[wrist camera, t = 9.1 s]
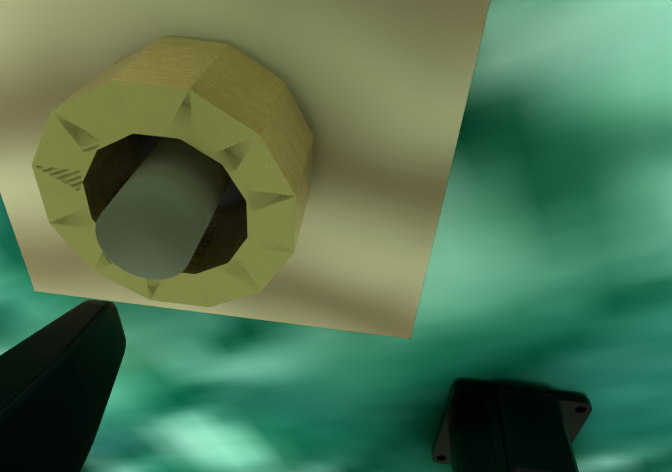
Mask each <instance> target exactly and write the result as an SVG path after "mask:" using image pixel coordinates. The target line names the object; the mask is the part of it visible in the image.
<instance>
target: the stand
mask: <svg viewBox="0 0 672 472" xmlns="http://www.w3.org/2000/svg"><path fill="white" fill-rule="evenodd" d="M489 4H490V0H0V193H1V196H2V199H3V202H4V205H5V207H6V210H7V213H8V216H9V219H10V222H11V224H12V227H13V230H14V233H15V236H16V239H17V241H18V244H19V247H20V250H21V253H22V256H23V258H24V261H25V264H26V267H27V270H28V272H29V275H30V278H31V281H32V284H33V287H34V289H35V291H39V292H47V293H55V294H62V295H70V296H78V297H86V298H94V299H102V300H110V301H117V302H125V303H133V304H141V305H149V306H157V307H165V308H172V309H180V310H188V311H196V312H204V313H212V314H220V315H228V316H235V317H243V318H251V319H259V320H267V321H275V322H283V323H290V324H298V325H306V326H314V327H322V328H330V329H338V330H345V331H353V332H361V333H369V334H377V335H385V336H393V337H400V338H408V339H411V334H412V330H413V326H414V322H415V318H416V313H417V309H418V305H419V301H420V296H421V292H422V288H423V284H424V279H425V275H426V271H427V267H428V263H429V258H430V254H431V250H432V246H433V241H434V237H435V233H436V229H437V224H438V220H439V216H440V212H441V207H442V203H443V199H444V195H445V191H446V186H447V182H448V178H449V174H450V169H451V165H452V161H453V157H454V152H455V148H456V144H457V140H458V136H459V131H460V127H461V123H462V119H463V114H464V110H465V106H466V102H467V97H468V93H469V89H470V85H471V80H472V76H473V72H474V68H475V64H476V59H477V55H478V51H479V47H480V42H481V38H482V34H483V30H484V25H485V21H486V17H487V13H488V9H489ZM163 36H164V37H173V38H182V39H191V40H201V41H210V42H219V43H229V44H230V45H231V46H233V47H234V48H236V49H237V50H239V51H240V52H242V53H243V54H245V55H246V56H248V57H249V58H251V59H252V60H253V61H255V62H256V63H258V64H259V65H261V66H262V67H264V68H265V69H267V70H268V71H270V72H271V73H272V74H274V75H275V76H277V77H278V78H280V79H281V80H283V81H284V82H285V83H286V85H287V87H288V89H289V91H290V93H291V94H292V96H293V98H294V100H295V102H296V104H297V106H298V108H299V109H300V111H301V113H302V115H303V117H304V119H305V121H306V122H307V124H308V126H309V128H310V130H311V132H312V134H313V136H314V141H313V160H312V178H311V189H310V193H309V197H308V201H307V205H306V209H305V212H304V216H303V220H302V224H301V228H300V232H299V235H298V239H297V243H296V247H295V251H294V253H293V254H292V256H291V257H290V258H289V259H288V260H287V262H286V263H285V264H284V265H283V266H282V267H281V269H280V270H279V271H278V272H277V273H276V275H275V276H274V277H273V278H272V279H271V281H270V282H269V283H268V284H267V285H266V286H265V288H264V289H263V290H262V291H261V292H258V293H255V294H252V295H248V296H245V297H242V298H239V299H235V300H232V301H229V302H226V303H222V304H219V305H216V306H213V307H202V306H194V305H186V304H178V303H170V302H162V301H154V300H149V299H147V298H145V297H143V296H141V295H139V294H137V293H135V292H133V291H131V290H130V289H128V288H126V287H124V286H122V285H120V284H118V283H116V282H114V281H112V280H110V279H108V278H106V277H104V276H102V275H100V274H98V273H96V272H94V271H93V270H92V269H91V268H90V267H89V266H88V265H87V264H86V263H85V262H84V261H83V259H82V258H81V257H80V256H79V255H78V254H77V253H76V252H75V251H74V250H73V249H72V247H71V246H70V245H69V244H68V243H67V242H66V241H65V240H64V239H63V238H62V237H61V236H60V234H59V233H58V232H57V231H56V230H55V229H54V228H53V227H52V226H51V225H50V224H49V221H48V218H47V214H46V211H45V208H44V205H43V201H42V198H41V195H40V191H39V188H38V185H37V182H36V178H35V175H34V172H33V168H32V162H33V159H34V157H35V154H36V151H37V148H38V146H39V143H40V140H41V137H42V135H43V132H44V129H45V126H46V124H47V121H48V118H49V115H50V113H51V110H53V109H54V108H55V107H57V106H58V105H59V104H61V103H62V102H63V101H65V100H66V99H67V98H68V97H70V96H71V95H72V94H74V93H75V92H76V91H78V90H79V89H80V88H81V87H83V86H84V85H85V84H87V83H88V82H89V81H91V80H92V79H93V78H95V77H96V76H97V75H98V74H100V73H101V72H102V71H104V70H105V69H106V68H108V67H109V66H110V65H111V64H113V63H115V62H116V61H118V60H120V59H122V58H124V57H126V56H128V55H130V54H131V53H133V52H135V51H137V50H139V49H141V48H143V47H145V46H147V45H148V44H150V43H152V42H154V41H156V40H158V39H160V38H162V37H163ZM137 139H138V145H139V151H140V157H141V160H142V161H143V162H142V163H141V165H140V166H139V167H138V168H137V170H136V171H135V172H134V173H133V175H132V176H131V177H130V178H129V179H128V181H127V182H126V183H125V184H124V186H123V187H122V188H121V189H120V191H119V192H118V193H117V194H116V196H115V197H114V198H113V199H112V201H111V202H110V203H109V204H108V205H107V207H106V208H105V209H104V210H103V212H102V213H101V214H100V216H99V217H98V219H97V222H96V227H95V232H96V238H97V241H98V243H99V246H100V248H101V249H102V251H103V252H104V254H105V255H106V256H107V257H108V258H109V259H110V260H111V261H112V262H113V263H114V264H115V265H117V266H118V267H120V268H121V269H123V270H124V271H126V272H128V273H130V274H132V275H135V276H138V277H141V278H146V279H154V280H162V279H168V278H172V277H174V276H177V275H178V274H180V273H181V272H182V271H184V270H185V268H186V267H187V266H188V264H189V262H190V260H191V258H192V256H193V254H194V252H195V250H196V248H197V246H198V244H199V242H200V240H201V238H202V236H203V234H204V232H205V230H206V228H207V227H208V225H209V223H210V221H211V219H212V217H213V215H214V213H215V211H216V209H217V208H223V209H227V208H230V207H233V206H235V205H238V204H241V203H243V202H246V200H245V198H244V197H243V195H242V194H241V192H240V191H239V189H238V188H237V186H236V185H235V183H234V182H233V180H232V179H231V177H230V176H229V174H228V173H227V171H226V170H225V168H224V166H223V165H222V164H220V163H219V162H217V161H215V160H214V159H212V158H211V157H209V156H207V155H206V154H204V153H202V152H201V151H199V150H197V149H196V148H194V147H193V146H191V145H189V144H188V143H186V142H184V141H183V140H181V139H177V138H168V137H160V136H151V135H142V134H137Z"/></svg>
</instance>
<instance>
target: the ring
mask: <svg viewBox="0 0 672 472" xmlns="http://www.w3.org/2000/svg"><path fill="white" fill-rule="evenodd" d="M137 134H142V135H151V136H160V137H168V138H177V139H181V140H183V141H184V142H186V143H188V144H189V145H191V146H193V147H194V148H196V149H197V150H199V151H201V152H202V153H204V154H206V155H207V156H209V157H211V158H212V159H214V160H215V161H217V162H219V163H220V164H222V165H223V166H224V168H225V170H226V171H227V173H228V174H229V176H230V177H231V179H232V180H233V182H234V183H235V185H236V186H237V188H238V189H239V191H240V192H241V194H242V195H243V197H244V198H245V200H246V202H243V203H241V204H238V205H235V206H233V207H230V208H227V209H223V208H217V209H216V211H215V213H214V215H213V217H212V219H211V221H210V223H209V225H208V227H207V228H206V230H205V232H204V234H203V236H202V238H201V240H200V242H199V244H198V246H197V248H196V250H195V252H194V254H193V256H192V258H191V260H190V262H189V264H188V266H187V267H186V268H185V270H184V271H182V272H181V273H180V274H178V275H177V276H174V277H172V278H168V279H162V280H154V279H146V278H141V277H138V276H135V275H132V274H130V273H128V272H126V271H124V270H123V269H121V268H120V267H118V266H117V265H115V264H114V263H113V262H112V261H111V260H110V259H109V258H108V257H107V256H106V255H105V254H104V252H103V251H102V249H101V248H100V246H99V243H98V241H97V238H96V232H95V227H96V222H97V219H98V217H99V216H100V214H101V213H102V212H103V210H104V209H105V208H106V207H107V205H108V204H109V203H110V202H111V201H112V199H113V198H114V197H115V196H116V194H117V193H118V192H119V191H120V189H121V188H122V187H123V186H124V184H125V183H126V182H127V181H128V179H129V178H130V177H131V176H132V175H133V173H134V172H135V171H136V170H137V168H138V167H139V166H140V165H141V163H142V162H143V161H142V160H141V157H140V151H139V145H138V139H137ZM313 141H314V136H313V134H312V132H311V130H310V128H309V126H308V124H307V122H306V121H305V119H304V117H303V115H302V113H301V111H300V109H299V108H298V106H297V104H296V102H295V100H294V98H293V96H292V94H291V93H290V91H289V89H288V87H287V85H286V83H285V82H284V81H283V80H281V79H280V78H278V77H277V76H275V75H274V74H272V73H271V72H270V71H268V70H267V69H265V68H264V67H262V66H261V65H259V64H258V63H256V62H255V61H253V60H252V59H251V58H249V57H248V56H246V55H245V54H243V53H242V52H240V51H239V50H237V49H236V48H234V47H233V46H231V45H230V44H229V43H219V42H210V41H201V40H191V39H182V38H173V37H164V36H163V37H162V38H160V39H158V40H156V41H154V42H152V43H150V44H148V45H147V46H145V47H143V48H141V49H139V50H137V51H135V52H133V53H131V54H130V55H128V56H126V57H124V58H122V59H120V60H118V61H116V62H115V63H113V64H111V65H110V66H109V67H108V68H106V69H105V70H104V71H102V72H101V73H100V74H98V75H97V76H96V77H95V78H93V79H92V80H91V81H89V82H88V83H87V84H85V85H84V86H83V87H81V88H80V89H79V90H78V91H76V92H75V93H74V94H72V95H71V96H70V97H68V98H67V99H66V100H65V101H63V102H62V103H61V104H59V105H58V106H57V107H55V108H54V109H53V110H51V113H50V115H49V118H48V121H47V124H46V126H45V129H44V132H43V135H42V137H41V140H40V143H39V146H38V148H37V151H36V154H35V157H34V159H33V162H32V168H33V172H34V175H35V178H36V182H37V185H38V188H39V191H40V195H41V198H42V201H43V205H44V208H45V211H46V214H47V218H48V221H49V224H50V225H51V226H52V227H53V228H54V229H55V230H56V231H57V232H58V233H59V234H60V236H61V237H62V238H63V239H64V240H65V241H66V242H67V243H68V244H69V245H70V246H71V247H72V249H73V250H74V251H75V252H76V253H77V254H78V255H79V256H80V257H81V258H82V259H83V261H84V262H85V263H86V264H87V265H88V266H89V267H90V268H91V269H92V270H93V271H94V272H96V273H98V274H100V275H102V276H104V277H106V278H108V279H110V280H112V281H114V282H116V283H118V284H120V285H122V286H124V287H126V288H128V289H130V290H131V291H133V292H135V293H137V294H139V295H141V296H143V297H145V298H147V299H149V300H154V301H162V302H170V303H178V304H186V305H194V306H202V307H213V306H216V305H219V304H222V303H226V302H229V301H232V300H235V299H239V298H242V297H245V296H248V295H252V294H255V293H258V292H261V291H262V290H263V289H264V288H265V286H266V285H267V284H268V283H269V282H270V281H271V279H272V278H273V277H274V276H275V275H276V273H277V272H278V271H279V270H280V269H281V267H282V266H283V265H284V264H285V263H286V262H287V260H288V259H289V258H290V257H291V256H292V254H293V253H294V251H295V247H296V243H297V239H298V235H299V232H300V228H301V224H302V220H303V216H304V212H305V209H306V205H307V201H308V197H309V193H310V189H311V178H312V160H313Z"/></svg>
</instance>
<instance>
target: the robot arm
mask: <svg viewBox="0 0 672 472" xmlns="http://www.w3.org/2000/svg"><path fill="white" fill-rule="evenodd" d="M125 348H126V338H125V334H124V330H123V327H122V323H121V320H120V317H119V313H118V310H117V307H116V306H115V304H114V303H112V302H108V301H97V300H87V301H84V302H82V303H81V304H79V305H78V306H76V307H74V308H73V309H71V310H70V311H68V312H67V313H65V314H64V315H62V316H61V317H59V318H57V319H56V320H54V321H53V322H51V323H50V324H48V325H47V326H45V327H43V328H42V329H40V330H39V331H37V332H36V333H34V334H33V335H31V336H30V337H28V338H26V339H25V340H23V341H22V342H20V343H19V344H17V345H16V346H14V347H13V348H11V349H9V350H8V351H6V352H5V353H3V354H2V355H0V472H80V471H81V469H82V467H83V465H84V463H85V461H86V458H87V456H88V454H89V452H90V449H91V447H92V445H93V442H94V440H95V437H96V434H97V432H98V429H99V426H100V423H101V420H102V417H103V414H104V411H105V409H106V406H107V403H108V400H109V397H110V394H111V391H112V388H113V385H114V382H115V379H116V376H117V373H118V370H119V368H120V365H121V362H122V359H123V356H124V353H125ZM591 411H592V407H591V404H590V401H589V399H588V398H587V397H584V396H578V395H570V394H563V393H555V392H547V391H539V390H532V389H524V388H516V387H509V386H501V385H493V384H485V383H478V382H470V381H459V382H457V383H455V384H454V385H453V387H452V390H451V393H450V396H449V399H448V402H447V405H446V408H445V411H444V414H443V417H442V420H441V423H440V427H439V430H438V433H437V436H436V439H435V442H434V445H433V448H432V459H433V461H435V462H437V463H442V464H450V465H451V466H452V472H579V471H578V467H577V464H576V460H575V457H574V453H573V450H572V446H571V444H572V442H573V441H574V439H575V437H576V436H577V434H578V433H579V431H580V429H581V428H582V426H583V424H584V423H585V421H586V419H587V418H588V416H589V414H590V413H591Z"/></svg>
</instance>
